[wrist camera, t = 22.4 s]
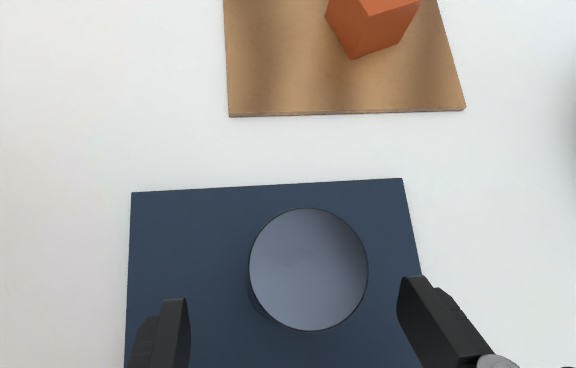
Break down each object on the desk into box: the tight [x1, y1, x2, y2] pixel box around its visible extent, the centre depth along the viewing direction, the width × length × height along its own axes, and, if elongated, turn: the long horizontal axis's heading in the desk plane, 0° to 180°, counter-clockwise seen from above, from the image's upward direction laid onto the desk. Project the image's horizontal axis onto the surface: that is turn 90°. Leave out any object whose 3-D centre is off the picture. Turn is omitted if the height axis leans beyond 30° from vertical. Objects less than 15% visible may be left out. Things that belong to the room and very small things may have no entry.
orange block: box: [325, 0, 424, 60], centre depth 30 cm, size 5×5×5 cm
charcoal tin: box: [247, 207, 369, 333], centre depth 19 cm, size 5×5×11 cm
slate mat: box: [124, 178, 423, 368], centre depth 25 cm, size 20×14×1 cm
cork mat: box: [223, 0, 466, 117], centre depth 32 cm, size 20×14×1 cm
